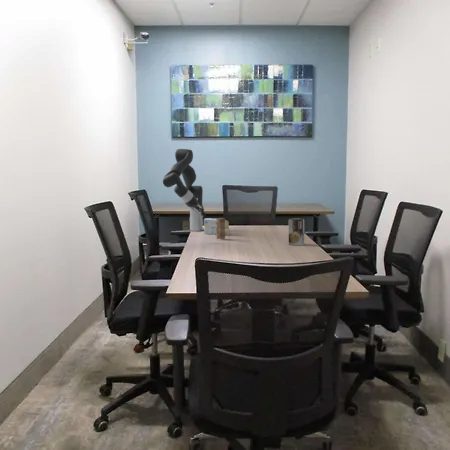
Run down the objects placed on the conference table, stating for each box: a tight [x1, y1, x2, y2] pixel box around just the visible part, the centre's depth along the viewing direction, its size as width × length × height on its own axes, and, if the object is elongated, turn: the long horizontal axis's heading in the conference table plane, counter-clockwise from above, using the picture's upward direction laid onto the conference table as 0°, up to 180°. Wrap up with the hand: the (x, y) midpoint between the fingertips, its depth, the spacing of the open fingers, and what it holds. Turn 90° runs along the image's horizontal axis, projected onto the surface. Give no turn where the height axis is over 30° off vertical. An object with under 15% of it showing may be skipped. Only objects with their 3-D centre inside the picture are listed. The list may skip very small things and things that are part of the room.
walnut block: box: [216, 217, 226, 241], centre depth 301 cm, size 4×4×14 cm
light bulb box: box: [203, 217, 217, 235], centre depth 325 cm, size 11×7×11 cm, turn 84°
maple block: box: [225, 219, 230, 237], centre depth 318 cm, size 4×4×10 cm
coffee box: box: [287, 217, 306, 246], centre depth 281 cm, size 9×6×16 cm
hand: (204, 215), depth 292 cm, fingers closed
